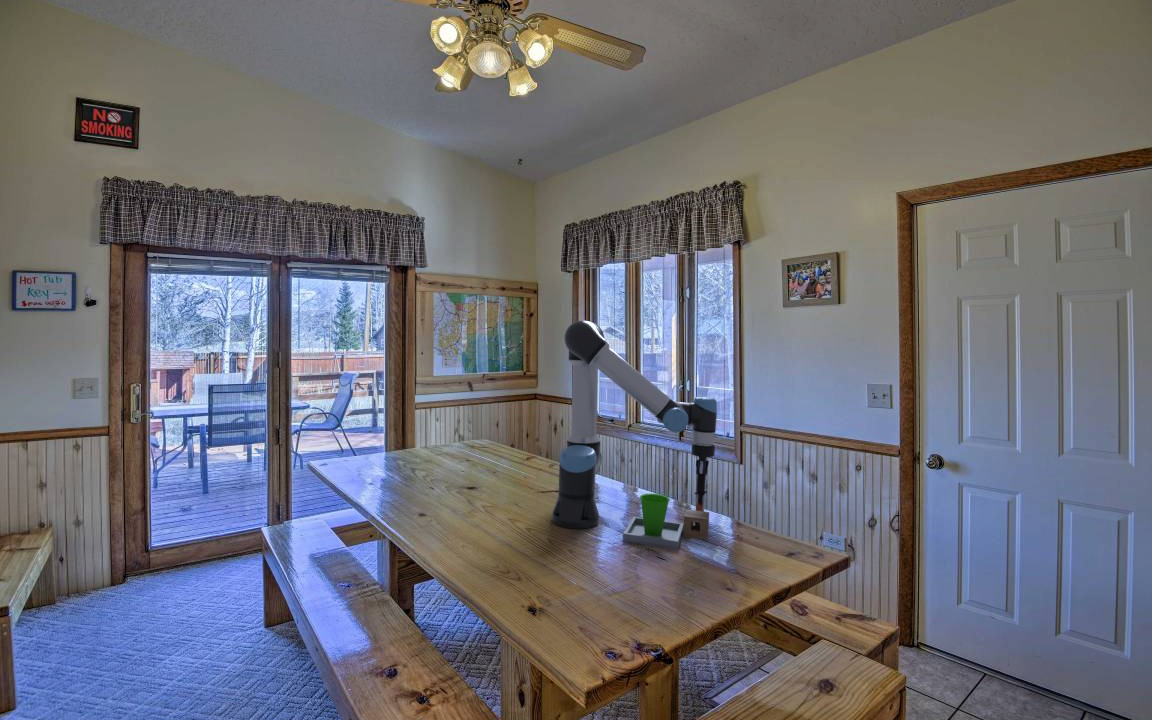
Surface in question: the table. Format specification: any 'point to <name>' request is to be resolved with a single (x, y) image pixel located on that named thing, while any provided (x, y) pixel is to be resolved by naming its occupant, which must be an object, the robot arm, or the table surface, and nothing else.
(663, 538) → the tray
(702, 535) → the mount
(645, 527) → the cup
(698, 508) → the pin
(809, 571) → the table surface
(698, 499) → the robot arm
